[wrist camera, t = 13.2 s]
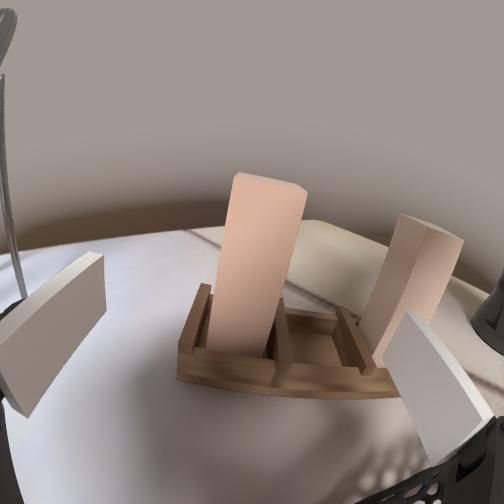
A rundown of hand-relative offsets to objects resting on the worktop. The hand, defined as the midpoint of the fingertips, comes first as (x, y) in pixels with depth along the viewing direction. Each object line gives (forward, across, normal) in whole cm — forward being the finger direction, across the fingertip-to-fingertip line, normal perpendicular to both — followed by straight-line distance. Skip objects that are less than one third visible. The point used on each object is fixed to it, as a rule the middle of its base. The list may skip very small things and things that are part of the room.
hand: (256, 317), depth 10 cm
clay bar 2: (+10, +14, -10) cm, 20 cm away
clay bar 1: (+10, 0, -10) cm, 14 cm away
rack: (+10, +7, -11) cm, 16 cm away
